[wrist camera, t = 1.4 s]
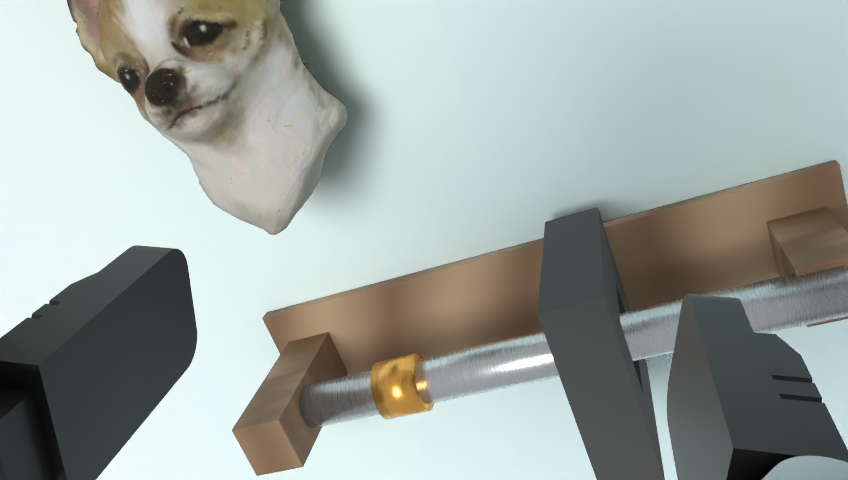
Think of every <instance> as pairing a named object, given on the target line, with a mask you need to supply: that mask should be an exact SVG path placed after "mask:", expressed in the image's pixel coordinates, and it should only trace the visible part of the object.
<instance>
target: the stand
mask: <svg viewBox="0 0 848 480" xmlns="http://www.w3.org/2000/svg"><path fill="white" fill-rule="evenodd" d="M603 226H604V229H605V232H606V235H607V239H608V242H609V245H610V248H611V251H612V255H613V258H614V261H615V264H616V267H617V271H618V274H619V277H620V280H621V283H622V287H623V290H624V293H625V296H626V299H627V303H628V306H629V309H630V311H632V310H636V309H641V308H645V307H649V306H654V305H658V304H662V303H667V302H671V301H675V300H680V299H683V298H684V296H685V295H686V294H697V295H701V294H706V293H710V292H715V291H719V290H723V289H728V288H732V287H736V286H741V285H745V284H749V283H754V282H758V281H762V280H767V279H771V278H775V277H780V276H784V275H788V274H793V273H794V274H795V275H796V276H799V275H804V274H808V273H812V272H817V271H821V270H825V269H830V268H834V267H839V266H843V265H845V266H846V268H847V269H848V208H847V202H846V197H845V192H844V187H843V181H842V176H841V171H840V166H839V164H838V163H837V162H836V161H835V160H834V161H830V162H826V163H823V164H819V165H815V166H811V167H808V168H804V169H800V170H797V171H793V172H789V173H785V174H782V175H778V176H774V177H770V178H767V179H763V180H759V181H756V182H752V183H748V184H744V185H741V186H737V187H733V188H729V189H726V190H722V191H718V192H715V193H711V194H707V195H703V196H700V197H696V198H692V199H688V200H685V201H681V202H677V203H674V204H670V205H666V206H662V207H659V208H655V209H651V210H647V211H644V212H640V213H636V214H633V215H629V216H625V217H621V218H618V219H614V220H610V221H606V222H603ZM543 243H544V238H543V239H539V240H536V241H532V242H528V243H524V244H521V245H517V246H513V247H510V248H506V249H502V250H498V251H495V252H491V253H487V254H483V255H480V256H476V257H472V258H469V259H465V260H461V261H457V262H454V263H450V264H446V265H442V266H439V267H435V268H431V269H428V270H424V271H420V272H416V273H413V274H409V275H405V276H401V277H398V278H394V279H390V280H387V281H383V282H379V283H375V284H372V285H368V286H364V287H360V288H357V289H353V290H349V291H346V292H342V293H338V294H334V295H331V296H327V297H323V298H320V299H316V300H312V301H308V302H305V303H301V304H297V305H293V306H290V307H286V308H282V309H279V310H275V311H271V312H267V313H266V314H265V315H264V317H263V318H262V319H263V321H264V323H265V325H266V327H267V329H268V330H269V332H270V334H271V336H272V338H273V340H274V342H275V344H276V346H277V348H278V350H279V352H280V354H281V355H280V356H279V358H278V359H277V361H276V363H275V364H274V366H273V367H272V369H271V370H270V372H269V373H268V375H267V377H266V378H265V380H264V381H263V383H262V384H261V386H260V387H259V389H258V390H257V392H256V394H255V395H254V397H253V398H252V400H251V401H250V403H249V404H248V406H247V408H246V409H245V411H244V412H243V414H242V415H241V417H240V418H239V420H238V421H237V423H236V425H235V426H234V428H233V429H232V431H233V433H234V435H235V437H236V439H237V441H238V442H239V444H240V446H241V448H242V450H243V451H244V453H245V455H246V457H247V459H248V460H249V462H250V464H251V466H252V468H253V470H254V471H255V473H256V475H257V476H258V475H263V474H269V473H274V472H279V471H284V470H289V469H295V468H300V467H303V466H304V464H305V462H306V459H307V457H308V455H309V453H310V451H311V449H312V447H313V445H314V443H315V441H316V439H317V436H318V434H319V432H320V430H321V428H322V426H321V427H316V428H310V427H309V426H308V425H307V424H306V423H305V422H304V420H303V418H302V415H301V412H300V407H299V396H300V392H301V390H302V388H303V387H304V386H306V385H310V384H314V383H319V382H323V381H328V380H332V379H336V378H341V377H345V376H349V375H354V374H358V373H362V372H367V371H371V370H372V367H373V365H374V364H375V363H377V362H381V361H385V360H389V359H393V358H398V357H402V356H406V355H411V354H415V353H420V354H421V355H422V356H423V357H424V358H428V357H432V356H436V355H441V354H445V353H449V352H454V351H458V350H462V349H467V348H471V347H475V346H480V345H484V344H488V343H493V342H497V341H501V340H506V339H510V338H515V337H519V336H523V335H528V334H532V333H536V332H541V331H543V329H542V326H541V323H540V321H539V318H538V315H537V310H538V299H539V288H540V277H541V265H542V254H543ZM844 319H848V316H846V317H841V318H836V319H831V320H827V321H822V322H817V323H812V324H807V327H810V326H815V325H820V324H824V323H829V322H834V321H839V320H844Z"/></svg>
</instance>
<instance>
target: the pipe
mask: <svg viewBox="0 0 848 480" xmlns="http://www.w3.org/2000/svg"><path fill="white" fill-rule="evenodd" d="M701 295H709V296H721V297H733V298H739V299H740V301H741V303H742V305H743V308H744V310H745V312H746V315H747V317H748V320H749V322H750V325H751V327H752V329H753V332H755V333H769V332H774V331H779V330H784V329H788V328H793V327H798V326H803V325H807V324H812V323H817V322H822V321H827V320H831V319H836V318H841V317H846V316H848V269H847V268H846V266H845V265H843V266H839V267H834V268H830V269H825V270H821V271H817V272H812V273H808V274H804V275H799V276H796V275H795V274H794V273H793V274H788V275H784V276H780V277H775V278H771V279H767V280H762V281H758V282H754V283H749V284H745V285H741V286H736V287H732V288H728V289H723V290H719V291H715V292H710V293H706V294H701ZM682 301H683V299H680V300H675V301H671V302H667V303H662V304H658V305H654V306H649V307H645V308H641V309H636V310H632V311H628V312H623V313H619V314H620V323H621V326H622V329H623V332H624V335H625V339H626V342H627V345H628V348H629V351H630V354H631V357H632V360H633V361H636V360H640V359H645V358H650V357H655V356H660V355H664V354H669V353H673V352H674V346H675V340H676V334H677V328H678V322H679V316H680V310H681V305H682ZM555 377H559V373H558V370H557V368H556V365H555V362H554V359H553V357H552V354H551V351H550V348H549V345H548V343H547V340H546V337H545V334H544V332H543V331H541V332H536V333H532V334H528V335H523V336H519V337H515V338H510V339H506V340H501V341H497V342H493V343H488V344H484V345H480V346H475V347H471V348H467V349H462V350H458V351H454V352H449V353H445V354H441V355H436V356H432V357H428V358H424V357H423V356H422V355H421V354H420V353H415V354H411V355H406V356H402V357H398V358H393V359H389V360H385V361H381V362H377V363H375V364H374V365H373V367H372V370H371V371H367V372H362V373H358V374H354V375H349V376H345V377H341V378H336V379H332V380H328V381H323V382H319V383H314V384H310V385H306V386H304V387H303V388H302V390H301V392H300V396H299V407H300V412H301V415H302V418H303V420H304V422H305V423H306V424H307V425H308V426H309V427H310V428H316V427H321V426H326V425H330V424H335V423H340V422H345V421H350V420H354V419H359V418H364V417H369V416H373V415H378V414H380V415H381V416H382V417H383V418H385V419H392V418H397V417H402V416H407V415H411V414H416V413H421V412H426V411H430V410H431V409H432V408H433V405H434V403H435V402H440V401H445V400H450V399H454V398H459V397H464V396H469V395H474V394H478V393H483V392H488V391H493V390H497V389H502V388H507V387H512V386H516V385H521V384H526V383H531V382H536V381H540V380H545V379H550V378H555Z"/></svg>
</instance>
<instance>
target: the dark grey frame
mask: <svg viewBox="0 0 848 480" xmlns="http://www.w3.org/2000/svg"><path fill="white" fill-rule="evenodd" d="M628 311H630V309H629V306H628V303H627V299H626V296H625V293H624V290H623V287H622V283H621V280H620V277H619V274H618V271H617V267H616V264H615V261H614V258H613V255H612V251H611V248H610V245H609V242H608V239H607V235H606V232H605V229H604V226H603V223H602V219H601V216H600V213H599V210H598V208H595V209H591V210H587V211H584V212H580V213H576V214H573V215H569V216H566V217H562V218H558V219H555V220H551V221H547V222H545V232H544V243H543V254H542V265H541V277H540V288H539V299H538V310H537V315H538V318H539V321H540V323H541V326H542V329H543V332H544V334H545V337H546V340H547V343H548V345H549V348H550V351H551V354H552V357H553V359H554V362H555V365H556V368H557V370H558V373H559V376H560V379H561V381H562V384H563V387H564V390H565V393H566V395H567V398H568V401H569V404H570V406H571V409H572V412H573V415H574V418H575V420H576V423H577V426H578V429H579V431H580V434H581V437H582V440H583V442H584V445H585V448H586V451H587V454H588V456H589V459H590V462H591V465H592V467H593V470H594V473H595V476H596V478H597V480H665V478H664V472H663V465H662V459H661V452H660V446H659V440H658V433H657V427H656V420H655V414H654V408H653V401H652V395H651V388H650V382H649V376H648V369H647V363H646V360H645V359H640V360H636V361H633V360H632V357H631V354H630V351H629V348H628V345H627V342H626V339H625V335H624V332H623V329H622V326H621V323H620V314H619V313H623V312H628Z"/></svg>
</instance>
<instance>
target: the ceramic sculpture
mask: <svg viewBox="0 0 848 480" xmlns="http://www.w3.org/2000/svg"><path fill="white" fill-rule="evenodd" d="M280 2H281V0H67V3H68V7H69V10H70V13H71V15H72V18H73V21H74V22H76V23H77V29H76V33H77V34H78V36H79V38H80V42H81V45H82V46H83V48H84V49H85V50H86V51H87V52H88V53H90V55H91V56H92V58H93V60H94V62H95V65H96V67H97V68H98V69H99V70H100V71H101V72H103V73H104V74H106V75H107V76H109V77H110V78H112V79H113V80H115V81H116V82H119V83H121V84H122V86H123V87H124V89H125V90H126V91H127V92H128V93H129V94H130V95H131V96H132V97H133V98H134V100H135V102H136V104H137V107H138V109H139V111H140V113H141V115H142V116H143V118H144V119H145V120H147V121H148V122H149V123H150V124H151V125H153V126H154V127H155V128H156V129H157V130H158V131H159V132H160V133H161V134H162V135H163V136H164V137H165V138H167V139H168V140H170V141H171V142H172V143H174V144H175V145H176V146H177V147H178V148H179V149H181V150H182V151H183V152H184V153H186V154H187V156H188V157H189V158H190V161H191V163H192V165H193V168H194V171H195V173H196V175H197V176H198V178H199V184H200V185H201V187H202V188H203V190H204V191H205V193H206V195H207V196H208V197H209V199H210V200H211V201H212V202H213V204H214V205H216V206H217V207H219V208H220V209H222V210H223V211H226V212H227V213H229V214H231V215H233V216H234V217H236V218H238V219H240V220H242V221H245V222H247V223H250V224H252V225H255V226H257V227H259V228H262V229H264V230H265V231H266V232H268V233H269V234H272V235H276V234H278V233H280V232H281V231H283V230H284V229H285V228H287V226H288V225H289V223H290V222H291V220H292V219H293V217H294V216H295V214H296V213H297V212H298V210H299V209H300V208H301V207H302V206H303V204H304V203H305V202H306V200H307V199H308V198H309V196H310V195H311V194H312V192H313V190H314V189H315V187H316V186H317V184H318V183H319V181H320V179H321V175H322V170H323V165H324V159H325V155H326V153H327V151H328V149H329V147H330V145H331V143H332V142H333V140H334V139H335V138H336V136H337V135H338V134H339V132H340V131H341V130H342V129H343V128H344V127H345V125H346V123H347V119H348V118H347V111H346V108H345V106H344V105H343V104H342V103H341V102H340V101H339V100H338V99H336V98H335V97H334V96H333V95H331V94H329V93H328V92H326V91H325V90H324V89H323V88H322V87H321V86H320V85H319V84H318V83H317V81H316V80H315V79H314V77H313V76H312V75H311V74H310V73H309V71H308V70H307V68H306V67H305V65H304V64H303V63H302V60H301V57H300V55H299V52H298V50H297V48H296V46H295V43H294V39H293V34H292V33H291V32H290V30H289V27H288V25H287V23H286V20H285V18H284V17H283V15H282V13H281V11H280Z"/></svg>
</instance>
